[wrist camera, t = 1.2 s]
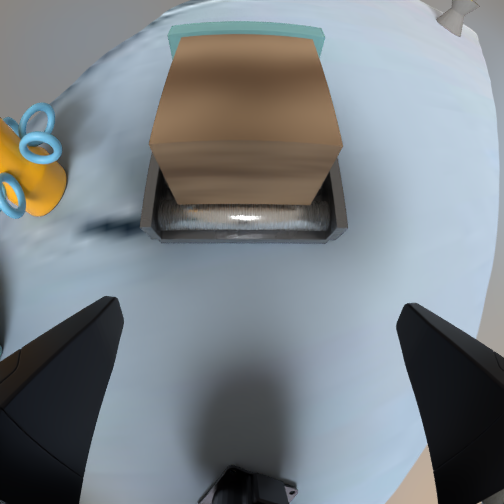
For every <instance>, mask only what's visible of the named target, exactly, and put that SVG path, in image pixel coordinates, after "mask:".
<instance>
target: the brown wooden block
mask: <svg viewBox="0 0 504 504" xmlns="http://www.w3.org/2000/svg"><path fill="white" fill-rule="evenodd" d="M149 146H150V148H151V150H152V152H153V154H154V157H155V159H156V161H157V163H158V165H159V167H160V169H161V171H162V173H163V175H164V177H165V179H166V181H167V183H168V185H169V187H170V190H171V192H172V194H173V196H174V198H175V200H176V202H177V204H178V205H186V204H280V205H311V203H312V201H313V199H314V198H315V196H316V194H317V192H318V191H319V189H320V187H321V185H322V183H323V182H324V180H325V178H326V176H327V174H328V173H329V171H330V169H331V167H332V165H333V164H334V162H335V160H336V158H337V156H338V155H339V153H340V151H341V149H342V147H343V144H342V140H341V135H340V131H339V127H338V122H337V118H336V114H335V111H334V107H333V103H332V99H331V96H330V92H329V88H328V85H327V82H326V78H325V75H324V72H323V69H322V65H321V62H320V59H319V56H318V53H317V50H316V47H315V45H314V42H313V39H306V38H298V37H289V36H277V35H259V34H218V35H201V36H189V37H181V39H180V42H179V44H178V47H177V50H176V53H175V55H174V58H173V61H172V64H171V67H170V70H169V73H168V76H167V79H166V82H165V85H164V89H163V92H162V95H161V99H160V102H159V106H158V110H157V113H156V117H155V121H154V125H153V129H152V133H151V137H150V141H149Z"/></svg>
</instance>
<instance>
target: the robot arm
mask: <svg viewBox="0 0 504 504" xmlns="http://www.w3.org/2000/svg"><path fill="white" fill-rule="evenodd" d="M123 325H124V318H123V314H122V311H121V307H120V304H119V301H118V299H117V298H116V297H111V296H104V297H102V298H101V299H99V300H97V301H96V302H94V303H92V304H91V305H89V306H87V307H86V308H84V309H82V310H81V311H79V312H77V313H76V314H74V315H73V316H71V317H69V318H68V319H66V320H64V321H63V322H61V323H60V324H58V325H56V326H55V327H53V328H52V329H50V330H49V331H47V332H45V333H44V334H42V335H41V336H39V337H38V338H36V339H34V340H33V341H31V342H30V343H28V344H27V345H25V346H24V347H22V349H19V350H17V351H16V352H14V353H13V354H11V355H10V356H8V357H7V358H5V359H4V360H2V361H1V362H0V504H79V501H80V495H81V489H82V483H83V477H84V472H85V467H86V463H87V458H88V454H89V449H90V445H91V441H92V437H93V433H94V430H95V426H96V422H97V418H98V415H99V411H100V408H101V405H102V401H103V398H104V395H105V391H106V388H107V385H108V382H109V379H110V376H111V373H112V370H113V366H114V363H115V359H116V354H117V350H118V345H119V341H120V337H121V333H122V329H123ZM396 330H397V334H398V337H399V341H400V345H401V349H402V353H403V358H404V362H405V366H406V369H407V372H408V376H409V379H410V382H411V385H412V388H413V391H414V395H415V398H416V401H417V405H418V408H419V412H420V415H421V419H422V423H423V427H424V431H425V435H426V439H427V443H428V447H429V452H430V457H431V462H432V467H433V470H434V471H433V473H434V478H435V484H436V491H437V498H438V504H477V503H479V502H482V503H481V504H504V358H503V357H502V356H501V355H499V354H498V353H496V352H493V350H492V349H490V348H488V347H487V346H485V345H484V344H482V343H481V342H479V341H478V340H476V339H474V338H473V337H471V336H470V335H468V334H467V333H465V332H463V331H462V330H460V329H459V328H457V327H455V326H454V325H452V324H451V323H449V322H447V321H446V320H444V319H442V318H441V317H439V316H438V315H436V314H434V313H433V312H431V311H429V310H428V309H426V308H424V307H423V306H421V305H419V304H417V303H407V304H405V305H404V307H403V309H402V312H401V314H400V316H399V319H398V321H397V324H396ZM231 470H235V472H231ZM290 491H294V492H290ZM297 494H298V490H297V488H296V487H294V486H290V485H287V484H284V483H283V482H282V481H279V480H276V479H273V478H270V477H267V476H265V475H262V474H259V473H252V472H250V471H247V470H245V469H242V468H240V467H237V466H234V465H231V466H229V467H228V468H227V469H226V470H225V471H224V473H223V474H222V475H221V477H220V478H219V479H218V480H217V482H216V483H215V484H214V485H213V487H212V488H211V489H210V490H209V492H208V493H207V494H206V495H205V496H204V498H203V499H202V500H201V501H200V502H199V503H198V504H289V503H290V502H291V501H292V499H293V498H294V497H295V496H296V495H297Z"/></svg>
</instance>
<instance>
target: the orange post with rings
mask: <svg viewBox="0 0 504 504" xmlns="http://www.w3.org/2000/svg"><path fill="white" fill-rule="evenodd" d="M37 111H44V112H45V113H46V114H47V116H48V124H47V127H46V129H45V131H44V132H41V131H35V132H31V133H28V134H26V125H27V122H28V120H29V118H30V117H31V116H32V115H33V114H34V113H35V112H37ZM54 124H55V113H54V110H53V108H52V107H51V106H50V105H49V104H47V103H37V104H35V105H33V106H31V107H30V108H29V109H28V110H27V111H26V112H25V113H24V115H23V116H22V118H21V121H20V123H19V125H18V124H17V122H16V121H15V120H14V119H12V118H10V117H6V118H4V119H3V120H2V118H1V117H0V212H1V210H2V211H3V212H4V213H5V214H6V215H8V216H9V217H11V218H15V219H17V218H20V217H22V216H23V214H24V213H25V211H26V212H28V213H29V214H31V215H33V216H37V217H39V216H43V215H46V214H47V213H49V212H50V211H51V210H53V209H54V207H55V206H56V205H57V204H58V202H59V201H60V199H61V197H62V196H63V193H64V191H65V187H66V181H67V178H66V173H65V170H64V169H63V167H62V166H61V165H60V164H59V163H58V162H57V161H56V160H58V159H59V158H60V156H61V154H62V145H61V143H60V141H59V140H58V139H57V138H56V137H55V136H53V135H51V132H52V130H53V127H54ZM8 125H9V126H10V127H11V128H12V129H13V130H14V131H12V129H11V128H10V127H9V126H8ZM43 142H45V143H47V144H49V145H50V146H51V147H52V148H53V149H54V152H53V153H52V154H49V153H48V152H47V151H46V150H45V149H44V148H42V147H39V146H38V145H40V144H42V143H43ZM6 196H7V198H8V199H9V200H10V201H11V202H12V203H14V204H15V205H17V206H18V209H15V208H13V207H12V206H11V205H10V204H9V203H8V202H7V200H6Z"/></svg>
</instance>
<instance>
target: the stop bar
mask: <svg viewBox="0 0 504 504" xmlns="http://www.w3.org/2000/svg"><path fill="white" fill-rule="evenodd" d="M218 34H259V35H277V36H289V37H298V38H306V39H313V42H314V45H315V47H316V50H317V53H318V56H319V58H320V55H321V51H322V47H323V44H324V40H325V36H324V33H323V31H322V29H321V28H317V27H310V26H303V25H295V24H285V23H272V22H249V21H229V22H206V23H193V24H184V25H175V26H172V27H171V29H170V31H169V33H168V40H169V45H170V49H171V54H172V59H173V58H174V55H175V53H176V50H177V47H178V44H179V42H180V39H181V37H189V36H201V35H218Z"/></svg>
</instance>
